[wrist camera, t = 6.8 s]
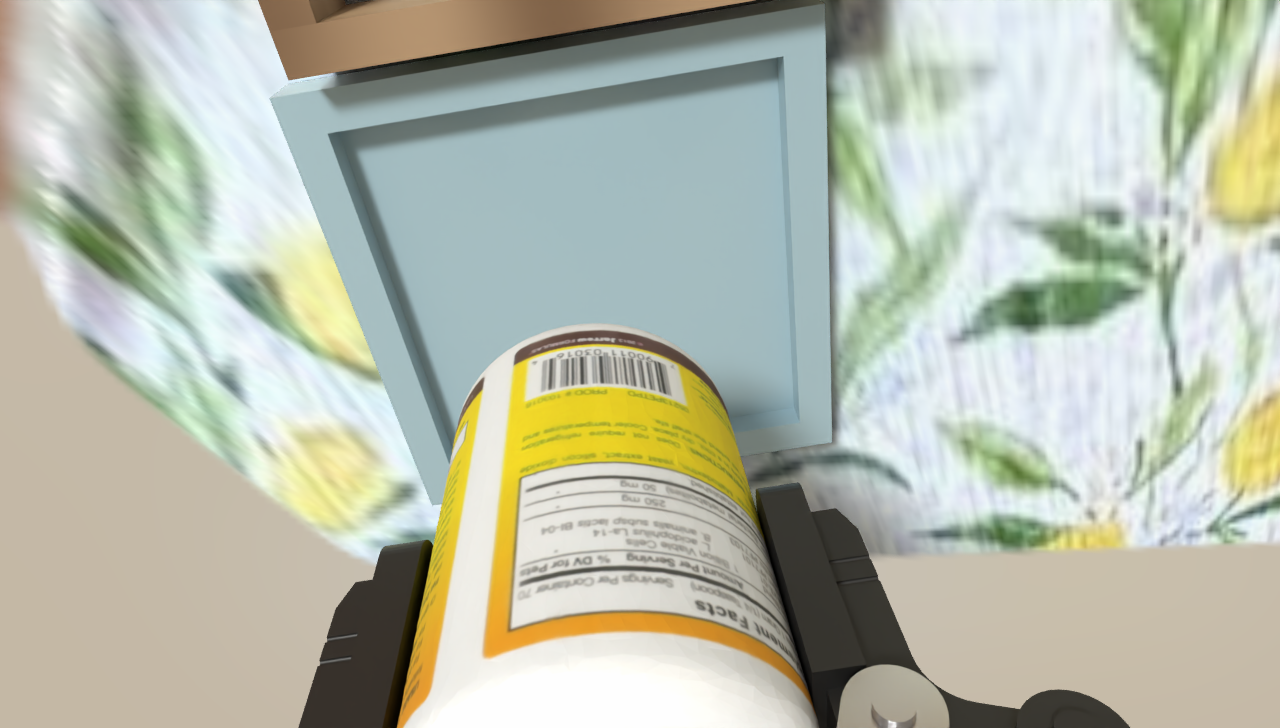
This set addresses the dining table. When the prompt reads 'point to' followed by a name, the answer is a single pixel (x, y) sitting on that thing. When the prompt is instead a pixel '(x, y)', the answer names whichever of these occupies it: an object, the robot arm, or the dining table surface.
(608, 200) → the tray
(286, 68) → the frame
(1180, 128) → the dining table surface
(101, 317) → the dining table surface
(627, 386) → the supplement bottle
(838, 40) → the dining table surface
